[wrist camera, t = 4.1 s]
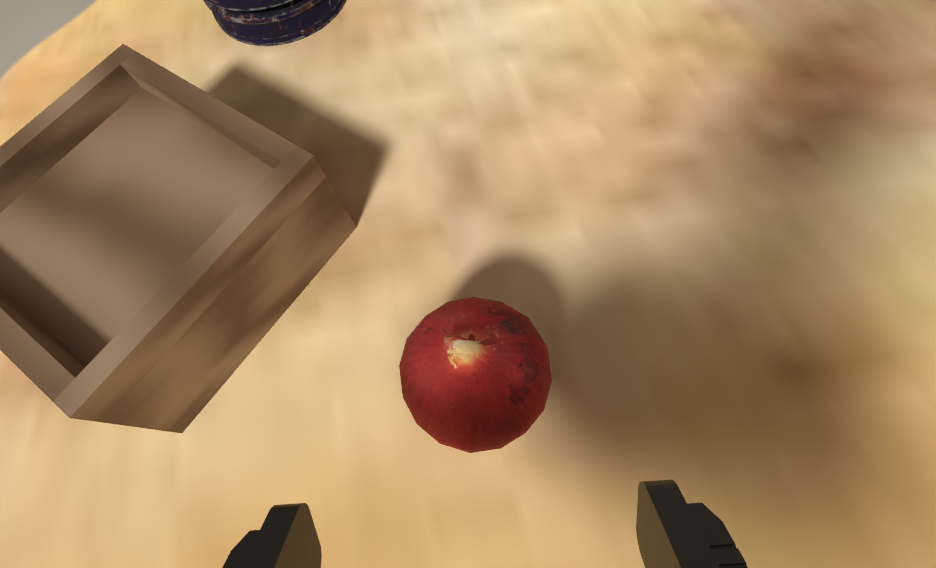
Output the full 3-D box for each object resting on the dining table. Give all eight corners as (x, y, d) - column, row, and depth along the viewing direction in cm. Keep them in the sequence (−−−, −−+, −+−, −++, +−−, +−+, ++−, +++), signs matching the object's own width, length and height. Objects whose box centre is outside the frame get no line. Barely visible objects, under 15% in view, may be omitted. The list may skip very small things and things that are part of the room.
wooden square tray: (200, 131, 30) (123, 43, 24) (358, 229, 26) (313, 155, 20) (31, 294, 26) (-112, 240, 20) (186, 433, 22) (69, 417, 16)
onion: (501, 307, 23) (499, 228, 16) (568, 410, 21) (602, 375, 14) (397, 368, 23) (344, 315, 15) (456, 481, 20) (429, 483, 13)
